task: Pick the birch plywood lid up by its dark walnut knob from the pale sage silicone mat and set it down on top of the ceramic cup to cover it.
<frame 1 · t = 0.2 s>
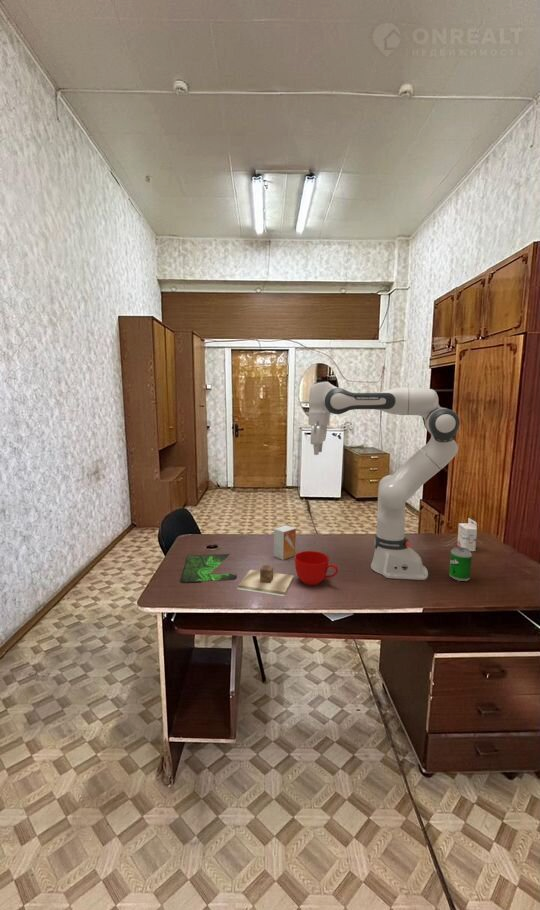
hand: (318, 453, 161), 48 cm above the table, fingers open, 8 cm apart
lid: (266, 582, 145), resting on mat
soda can: (459, 579, 151), on the table
small box: (284, 556, 172), on the table
ceramic cup: (315, 583, 146), on the table
mouse mat: (210, 568, 160), on the table
mat: (266, 583, 145), on the table
ink cartridge box: (465, 549, 182), on the table
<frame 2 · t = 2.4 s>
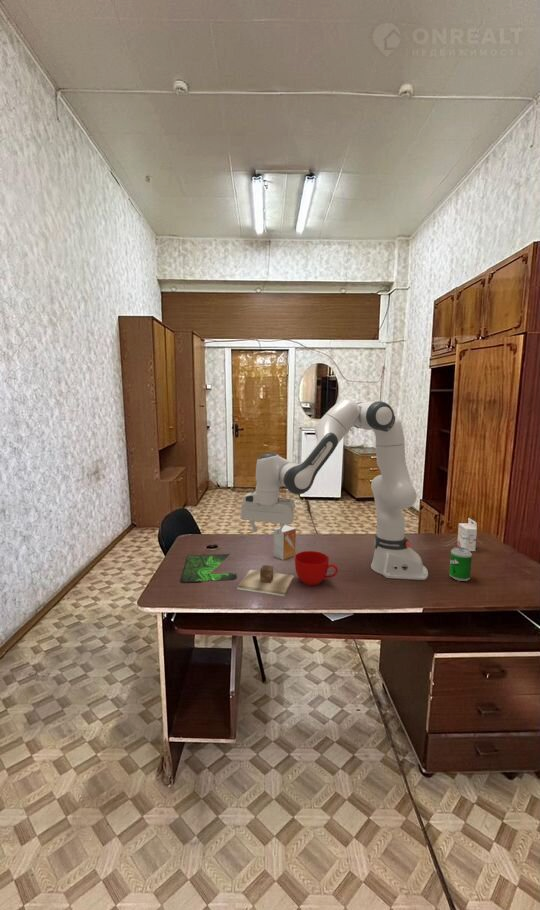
hand: (266, 532, 143), 20 cm above the table, fingers open, 8 cm apart
nothing on the table moved.
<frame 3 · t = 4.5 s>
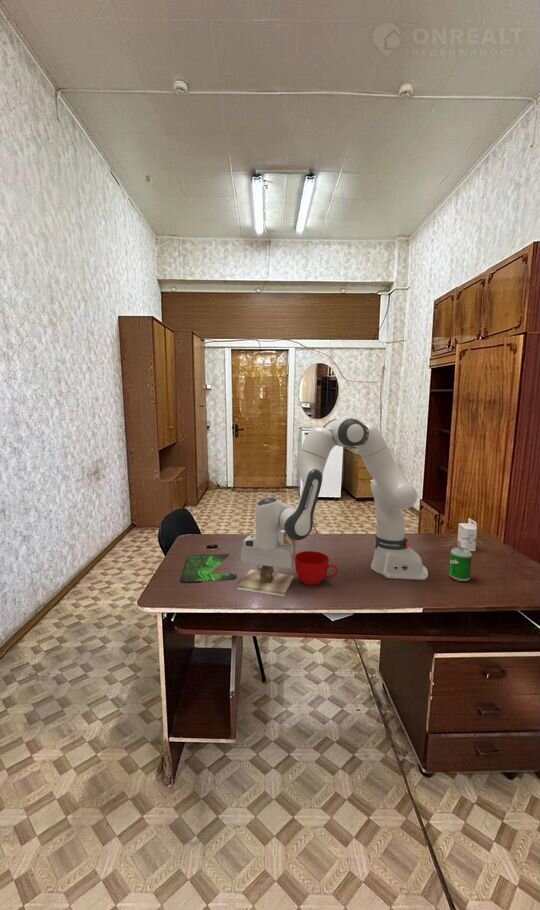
hand: (266, 575, 145), 3 cm above the table, fingers closed on lid, 4 cm apart
lid: (266, 582, 145), resting on mat, touching gripper
everything else where it was.
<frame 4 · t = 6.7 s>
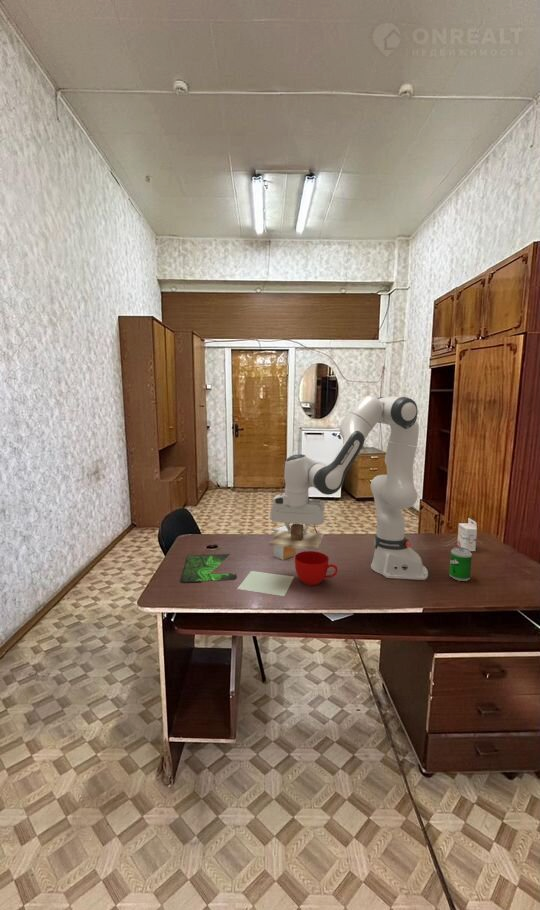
hand: (297, 533, 144), 20 cm above the table, fingers closed on lid, 4 cm apart
lid: (297, 540, 144), point 17 cm above the table, touching gripper
everything else where it was.
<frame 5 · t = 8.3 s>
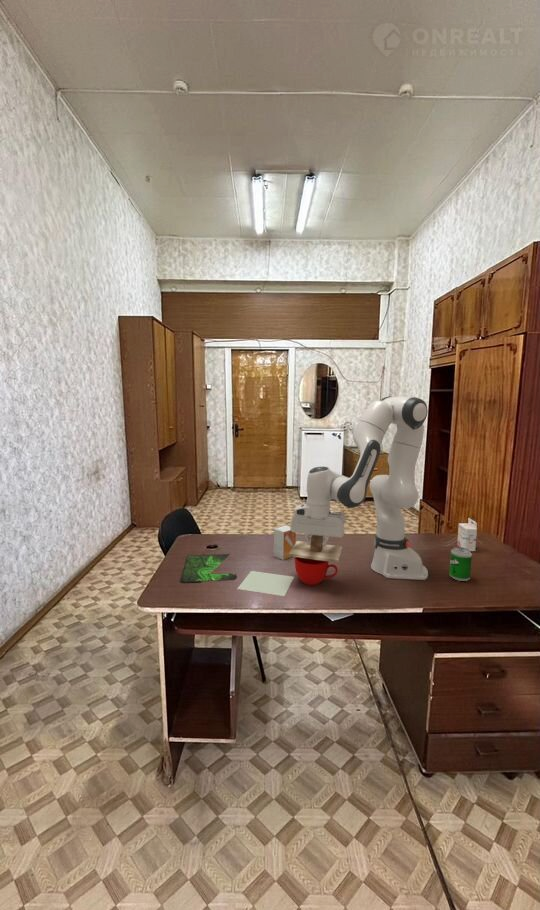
hand: (316, 545, 144), 15 cm above the table, fingers closed on lid, 4 cm apart
lid: (316, 552, 144), point 12 cm above the table, touching gripper
everything else where it was.
when the fingers open (14 cm above the table, at t = 9.2 s): lid drops 2 cm, resting on ceramic cup.
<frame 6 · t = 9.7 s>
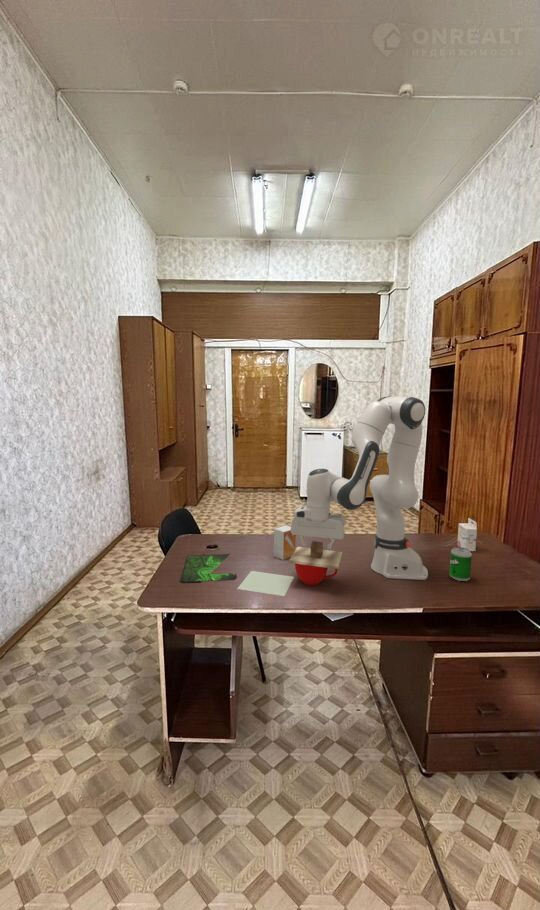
hand: (316, 547, 144), 14 cm above the table, fingers open, 8 cm apart
lid: (316, 558, 145), point 10 cm above the table, touching ceramic cup
ceramic cup: (315, 583, 146), on the table, touching lid
everything else where it was.
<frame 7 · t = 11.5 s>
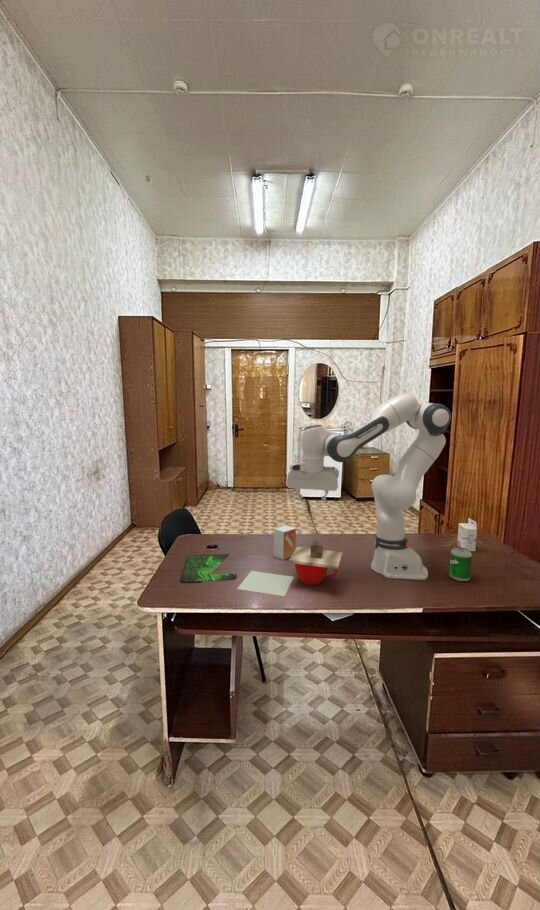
hand: (311, 500, 152), 30 cm above the table, fingers open, 8 cm apart
nothing on the table moved.
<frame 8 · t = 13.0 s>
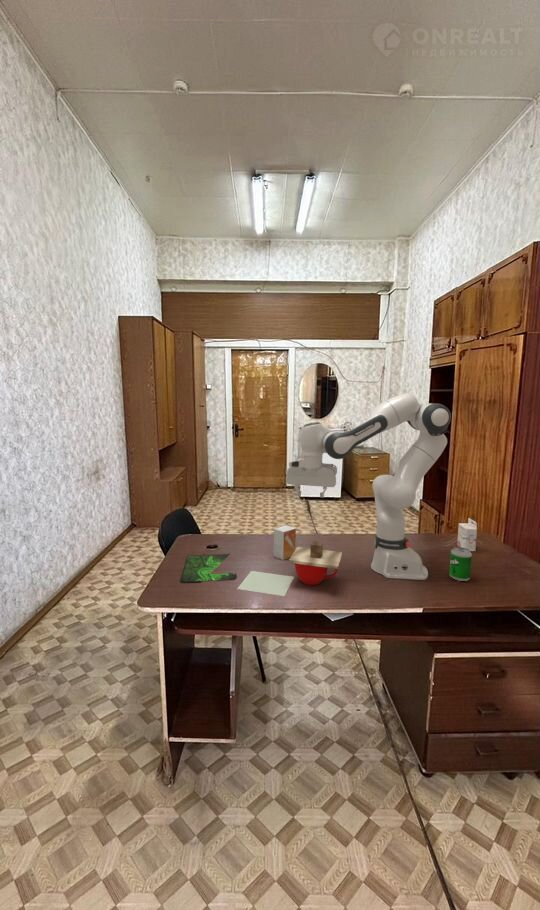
hand: (310, 496, 155), 31 cm above the table, fingers open, 8 cm apart
nothing on the table moved.
at the end: lid inside the target area in the ceramic cup (0.1 cm from its centre), point 10.2 cm above the ceramic cup's base; lid point 10.0 cm above the table; the gripper is holding nothing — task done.
